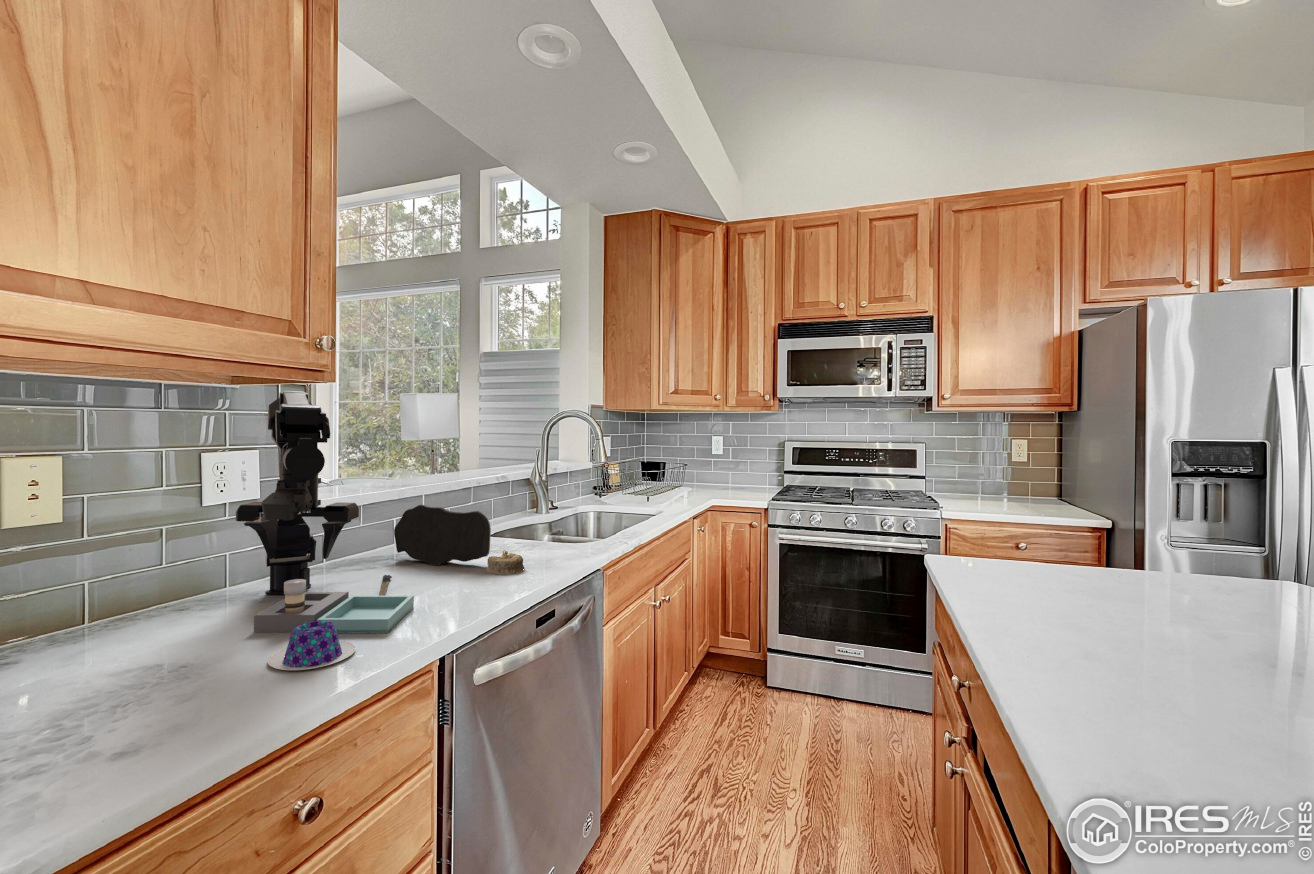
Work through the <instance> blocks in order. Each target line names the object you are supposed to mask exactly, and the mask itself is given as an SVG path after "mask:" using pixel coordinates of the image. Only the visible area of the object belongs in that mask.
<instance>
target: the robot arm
mask: <svg viewBox="0 0 1314 874" xmlns="http://www.w3.org/2000/svg"><path fill="white" fill-rule="evenodd" d="M267 430H268V431H271V435H270V437H271V439H272V441H273V442H274V444H275V445H276V447H277V448H278V449H279V480H277V481H276V488H275V491H274V492H272V493H270V494H269V495H268V496H267V497H265V499H263V500H261V501H252V502H248V503H244V504H240V505H239V506H238V507H237V509H236V511H235V522H243V525H244V526H245V527H250V528H251V529H252V530H253V531H255V532H256V534H257V536H258V537H259V539H260V542H261V544H262V545H263V548H264V551H265V565H266V567H267V568H268V567H269V589H268V590H266V591H265V592H264V593H265V595H284V582H286V581H289V580H294V579H304V580H306V590H307V589H309V588H310V587H312V583H311V581H310V580H311V579H310V578H311V577H310V576H311V575H310V574H311V568H310V567H309V566H308V565H309V563H313V561H316V548H317V540H316V539H315V537H314V535H313V534H311V530H310V529H311V528H310V526H309V525H308V524H307V522H306V521H305V519H304V518H306V517H307V518H308V517H309V518H314V517H315V518H323V519H324V520H326V521H325V522H323V523H321V526H322V529H323V542H322V558H323V560H327V559H328V558H329V557H330V554H331V552H332V549H333V547H334V545H335V543H336V540H337V539H338V536H339V535H340V534H341V531H342V529H343V528H344V526H345V525H346V524H349V523H351V522H352V520H354V519H357V518H359V516H360V515H359V512H360V508H359V505H358V504H357V503H356V502H334V503H330V504H328V505H325V506H321V505H322V502H321V501H322V500H321V499H318V497H319V484H322V477H319V474H320V473H321V472H322V470H323V469H324V468H325V467H324V466H325V463H326V461H325V460H326V459H325V456H324V453H323V452H322V451H321V450H320V449H319V448H318V444H319V443H321V444H322V443H324V444H326V443H328V439H331V426H330V421H329V417H328V416H327V413H326V411H322V407H321V406H320V405H317V404H312V403H311V402H310V400H309V393H308V392H305V391H296V390H282V391H279V395H278V397H277V399H275V400H274V401H272V402H271V403H269V404H268V407H267Z"/></svg>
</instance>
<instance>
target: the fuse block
mask: <svg viewBox="0 0 1314 874" xmlns="http://www.w3.org/2000/svg"><path fill="white" fill-rule="evenodd" d="M349 593H350V591H306V592H305V605H304V612H302V613H285V597H284V598H283V599H281V600H278V601H277V602H276V603H274V604H272V605H269V606H267V607H266V608H264V609H263V610H261V611H259V612H257V613H255V614H254V615H253V633H292V631H293V630H294V628H295V627H296V626H298V625H303V624H304V623H307V622H315V621H317V619H319V618H320V617H322V616H323V615H325V614H326V613H327V612H329V611H330V610H332V609H333V608H335V607H336V606H338V605H339V604H340V603H342V602H343V601H345V600H346V599H348V598H349V597H350V596H349Z"/></svg>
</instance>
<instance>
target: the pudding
mask: <svg viewBox="0 0 1314 874" xmlns="http://www.w3.org/2000/svg"><path fill="white" fill-rule="evenodd" d="M288 640H289V641H288V643H287V647H285V648H283V649H281V650H278V651H276V652H275V653H273V654H272V655H271V656H270V657H269V658H268V659H267V665H269V666H270V667H271V668H274V669H276V670H283V671H302V670H303V671H304V670H311V669H312V670H313V669H318V668H323V667H326V666H331V665H332V664H336V663H338V662H341V661H343V660H345V659H347V658H349V657H350V656H352V655H353V654H354V653H355V651H356V648H357V646H356V645H355V644H354V643H353V642H350V641H346V640H343V639H342V640H341V639H339V636H338V634H337V631H336V627H335V626H334V624H333V623H331V622H329V621H315V622H307V623H304V624H303V625H298V626H296V627H295V628H294V630H293V631H292V632H290V635H289V639H288ZM284 656H285V657H284ZM337 657H339V658H337ZM285 666H286V667H285ZM302 666H304V667H302ZM305 666H306V667H305ZM288 667H290V668H288ZM294 667H295V668H294ZM297 667H299V668H297Z"/></svg>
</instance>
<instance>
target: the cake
mask: <svg viewBox="0 0 1314 874" xmlns="http://www.w3.org/2000/svg"><path fill="white" fill-rule="evenodd" d="M523 569H524V570H525V566H524V558H523V556H522V555H520V554H516V553H512V552H509V551H506V550H502V555H499V556H497V555H493V556H491V555H490V556H488V558H487V567H486V568H484V571H485V572H487V573H490V574H493V575H494V574H496V575H509V574H517V573H520V572H523V571H524V570H523Z"/></svg>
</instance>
